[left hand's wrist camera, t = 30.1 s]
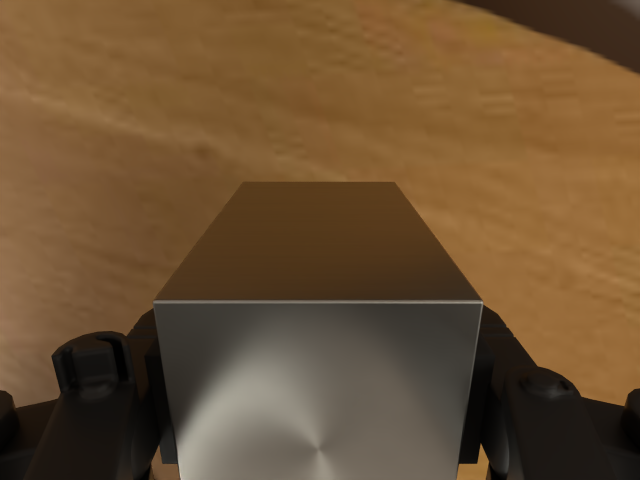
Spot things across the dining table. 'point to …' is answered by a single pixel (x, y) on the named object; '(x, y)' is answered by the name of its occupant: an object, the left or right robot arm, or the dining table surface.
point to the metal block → (318, 339)
